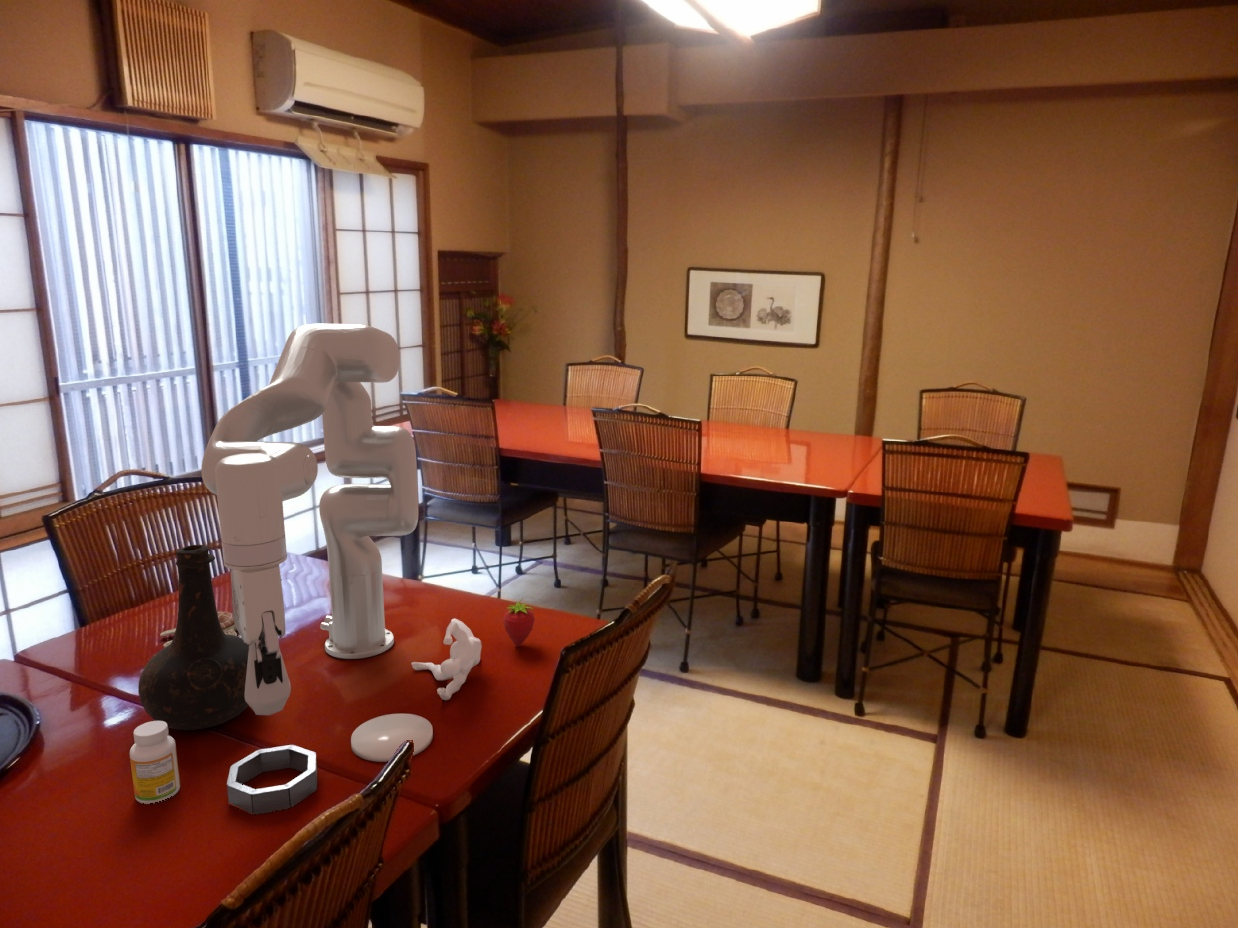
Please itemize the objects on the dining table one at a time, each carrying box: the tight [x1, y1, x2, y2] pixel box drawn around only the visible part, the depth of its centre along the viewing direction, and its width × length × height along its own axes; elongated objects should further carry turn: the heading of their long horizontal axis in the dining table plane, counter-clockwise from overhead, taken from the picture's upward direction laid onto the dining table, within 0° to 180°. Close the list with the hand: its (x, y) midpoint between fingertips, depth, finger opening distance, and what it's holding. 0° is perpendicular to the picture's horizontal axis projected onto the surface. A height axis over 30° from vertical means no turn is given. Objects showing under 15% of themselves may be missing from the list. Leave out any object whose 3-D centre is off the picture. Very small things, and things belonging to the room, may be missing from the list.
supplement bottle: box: [129, 720, 181, 805], centre depth 111 cm, size 5×5×10 cm
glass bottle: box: [137, 544, 250, 731], centre depth 129 cm, size 18×18×28 cm
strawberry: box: [503, 598, 535, 648], centre depth 158 cm, size 6×8×10 cm
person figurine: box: [411, 618, 483, 701], centre depth 145 cm, size 13×13×18 cm
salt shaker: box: [245, 634, 292, 716], centre depth 110 cm, size 6×6×13 cm
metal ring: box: [226, 744, 318, 815], centre depth 113 cm, size 11×11×3 cm
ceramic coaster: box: [350, 713, 434, 763], centre depth 126 cm, size 12×12×1 cm
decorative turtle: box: [159, 610, 238, 648], centre depth 161 cm, size 18×17×5 cm
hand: (266, 678), depth 111 cm, fingers closed on salt shaker, 3 cm apart
